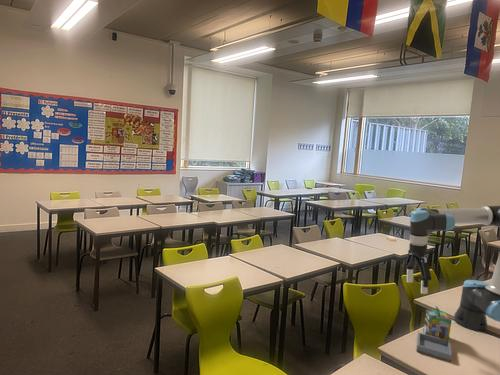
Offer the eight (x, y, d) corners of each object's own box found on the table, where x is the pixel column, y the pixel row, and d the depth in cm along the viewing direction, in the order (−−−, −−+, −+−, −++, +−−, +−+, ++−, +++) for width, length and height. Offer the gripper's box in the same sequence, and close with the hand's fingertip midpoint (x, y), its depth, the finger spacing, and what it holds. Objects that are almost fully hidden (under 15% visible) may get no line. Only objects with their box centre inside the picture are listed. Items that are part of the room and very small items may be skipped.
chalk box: (448, 344, 170) (453, 314, 168) (427, 340, 172) (432, 310, 170) (442, 334, 179) (447, 305, 177) (422, 330, 181) (426, 302, 179)
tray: (448, 347, 167) (449, 341, 167) (450, 361, 155) (451, 355, 155) (417, 338, 173) (418, 332, 172) (416, 351, 161) (417, 345, 160)
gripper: (398, 237, 183) (396, 278, 185) (424, 251, 158) (422, 299, 161) (413, 236, 183) (411, 277, 186) (441, 251, 159) (439, 298, 161)
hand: (416, 287), depth 173 cm, fingers open, 13 cm apart
